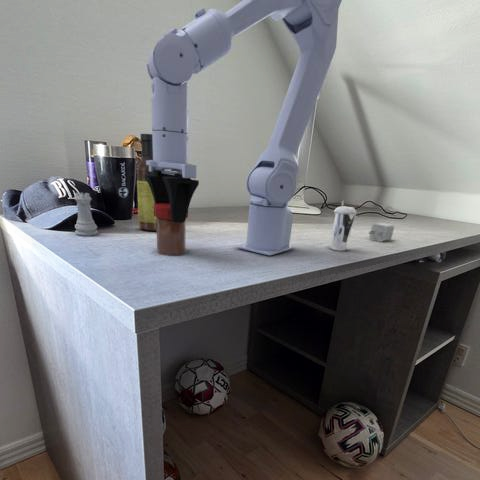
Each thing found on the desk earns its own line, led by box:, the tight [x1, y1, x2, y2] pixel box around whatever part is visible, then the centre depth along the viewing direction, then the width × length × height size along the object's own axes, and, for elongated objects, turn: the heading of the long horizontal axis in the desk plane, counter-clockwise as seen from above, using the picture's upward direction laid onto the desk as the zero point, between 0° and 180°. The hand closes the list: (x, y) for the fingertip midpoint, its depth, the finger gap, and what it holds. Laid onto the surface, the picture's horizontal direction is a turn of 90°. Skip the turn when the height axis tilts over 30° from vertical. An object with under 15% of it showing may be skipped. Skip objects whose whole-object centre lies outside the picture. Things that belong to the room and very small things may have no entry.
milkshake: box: [330, 200, 357, 252], centre depth 75 cm, size 5×5×10 cm
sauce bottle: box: [136, 133, 156, 232], centre depth 77 cm, size 7×6×20 cm
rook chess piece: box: [73, 192, 99, 237], centre depth 70 cm, size 4×4×8 cm
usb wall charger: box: [368, 222, 395, 242], centre depth 89 cm, size 4×7×4 cm, turn 132°
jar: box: [155, 217, 187, 256], centre depth 62 cm, size 5×5×8 cm
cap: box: [154, 203, 189, 219], centre depth 61 cm, size 6×6×2 cm
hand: (170, 218), depth 61 cm, fingers closed on cap, 6 cm apart
